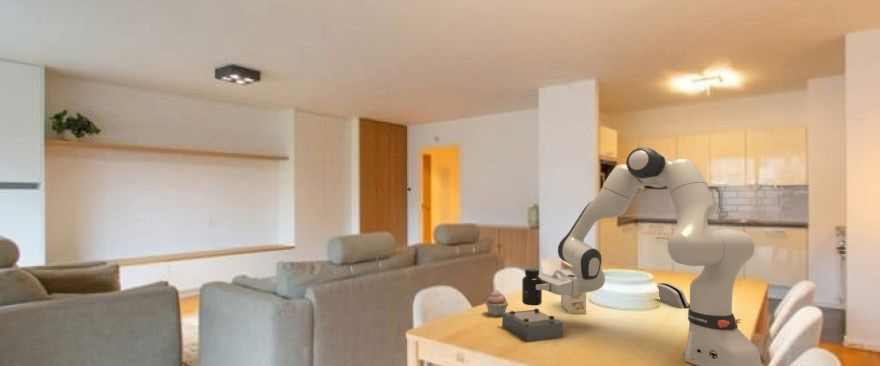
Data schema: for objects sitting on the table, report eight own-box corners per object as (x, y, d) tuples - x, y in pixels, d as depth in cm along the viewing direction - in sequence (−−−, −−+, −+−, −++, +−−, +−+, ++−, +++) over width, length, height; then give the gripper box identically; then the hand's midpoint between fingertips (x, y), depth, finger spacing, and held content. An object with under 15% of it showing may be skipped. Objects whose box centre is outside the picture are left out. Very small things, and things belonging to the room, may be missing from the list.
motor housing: (563, 337, 162) (563, 318, 162) (526, 342, 157) (526, 322, 157) (531, 320, 181) (531, 304, 181) (498, 324, 177) (498, 307, 177)
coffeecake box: (586, 314, 191) (587, 265, 191) (569, 314, 191) (569, 265, 191) (576, 304, 206) (577, 259, 206) (560, 304, 206) (560, 259, 206)
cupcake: (509, 312, 193) (509, 288, 193) (506, 318, 184) (506, 293, 184) (487, 310, 196) (487, 286, 196) (483, 316, 187) (483, 291, 187)
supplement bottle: (519, 304, 166) (519, 270, 166) (525, 300, 172) (525, 267, 173) (538, 306, 163) (538, 271, 163) (544, 302, 169) (543, 268, 169)
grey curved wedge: (692, 308, 200) (685, 286, 199) (683, 312, 199) (675, 290, 198) (666, 298, 216) (659, 278, 216) (657, 302, 215) (650, 282, 215)
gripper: (547, 268, 182) (515, 270, 177) (579, 278, 163) (544, 281, 158) (547, 284, 182) (515, 287, 177) (579, 297, 163) (544, 300, 158)
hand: (529, 284), depth 168 cm, fingers closed on supplement bottle, 7 cm apart
